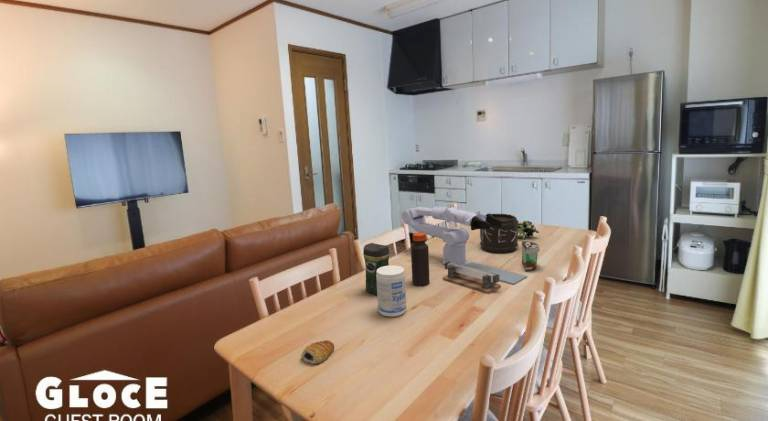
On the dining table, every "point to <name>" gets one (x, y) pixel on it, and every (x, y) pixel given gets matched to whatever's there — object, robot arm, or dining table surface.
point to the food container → (529, 255)
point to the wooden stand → (471, 281)
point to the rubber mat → (499, 273)
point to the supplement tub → (391, 290)
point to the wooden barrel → (501, 235)
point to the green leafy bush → (526, 229)
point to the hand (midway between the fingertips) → (495, 225)
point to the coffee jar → (374, 263)
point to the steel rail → (472, 272)
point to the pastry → (318, 352)
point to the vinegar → (420, 260)
